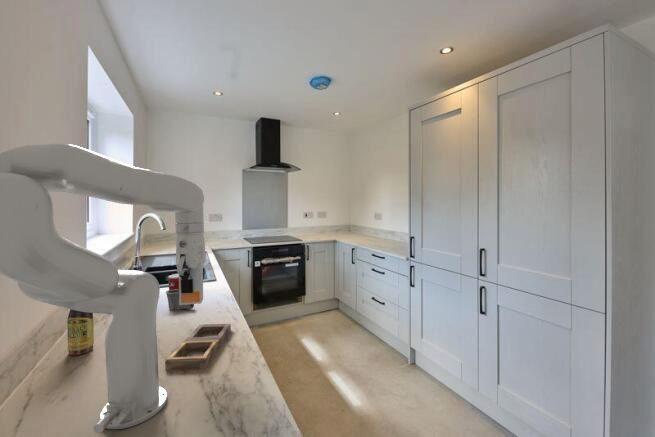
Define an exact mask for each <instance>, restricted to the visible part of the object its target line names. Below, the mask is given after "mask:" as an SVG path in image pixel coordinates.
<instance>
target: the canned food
mask: <svg viewBox="0 0 655 437" xmlns="http://www.w3.org/2000/svg"><path fill="white" fill-rule="evenodd" d="M167 279H168V290H176V289H177V290H179V274H178V273H173V274H171V275H168V277H167Z"/></svg>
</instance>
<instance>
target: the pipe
mask: <svg viewBox="0 0 655 437" xmlns="http://www.w3.org/2000/svg"><path fill="white" fill-rule="evenodd" d="M165 294H166V297H167V298H166V299H167V302H168V309H169V310H170V311H175V310H176V311H177V310H192V309H194V307H195V304H186V305H179V290H177V289H176V290H169V289H168V290H166V291H165Z"/></svg>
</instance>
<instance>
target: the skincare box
mask: <svg viewBox="0 0 655 437" xmlns="http://www.w3.org/2000/svg"><path fill="white" fill-rule="evenodd" d="M184 268H189V267H188V266H185V267H184ZM186 272H187V273H188V271H186ZM191 279H193V293H181V280H180V276H179V305H186V304H194V305H198V304H202V302H203V300H204V264H203V265H202V262H201V263H199V267H197V268H196V269H192V277H191Z"/></svg>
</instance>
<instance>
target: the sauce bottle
mask: <svg viewBox="0 0 655 437" xmlns="http://www.w3.org/2000/svg"><path fill="white" fill-rule="evenodd" d="M66 319H67V322H66V323H67V349H68V350H67V351H68V355H71V356H78V355H79V356H80V355H84V354H86V353H88V352H90V351H92V350H93V348H94V344H95V339H94V338H95V334H94V332H95V330H94V327H95V326H94V313H88V312H81V311H76V310H72V309H69V312H68V316H67V318H66Z"/></svg>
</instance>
